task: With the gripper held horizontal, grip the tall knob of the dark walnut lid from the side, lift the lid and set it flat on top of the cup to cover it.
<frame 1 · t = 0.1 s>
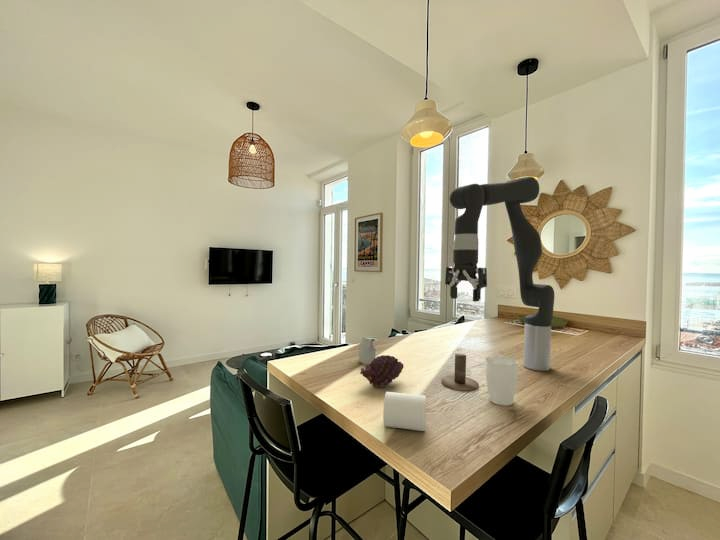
hand: (464, 299, 99), 29 cm above the breakfast bar, tool pointing down, fingers open, 8 cm apart
cup: (500, 401, 93), on the breakfast bar
white rounded block: (405, 423, 79), on the breakfast bar
lid: (459, 384, 106), on the breakfast bar
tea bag: (366, 363, 126), on the breakfast bar
pine cone: (384, 385, 103), on the breakfast bar
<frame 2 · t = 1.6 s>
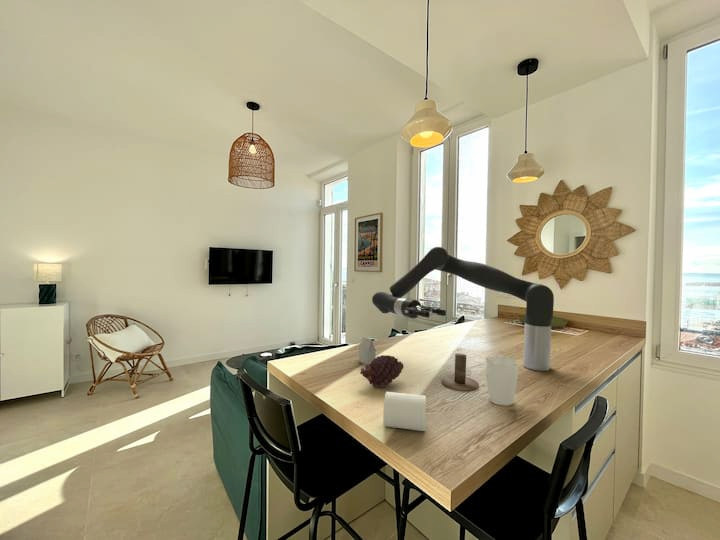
hand: (437, 313, 114), 22 cm above the breakfast bar, tool horizontal, fingers open, 8 cm apart
nothing on the breakfast bar moved.
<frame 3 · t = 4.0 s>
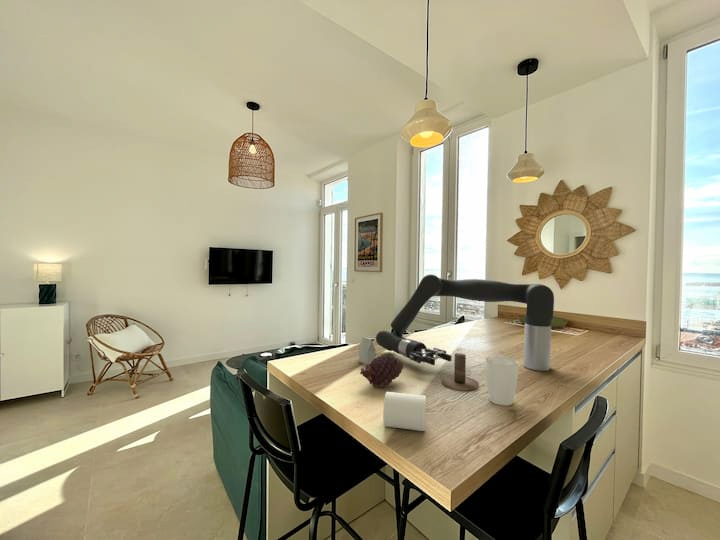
hand: (442, 360, 112), 6 cm above the breakfast bar, tool horizontal, fingers open, 8 cm apart
nothing on the breakfast bar moved.
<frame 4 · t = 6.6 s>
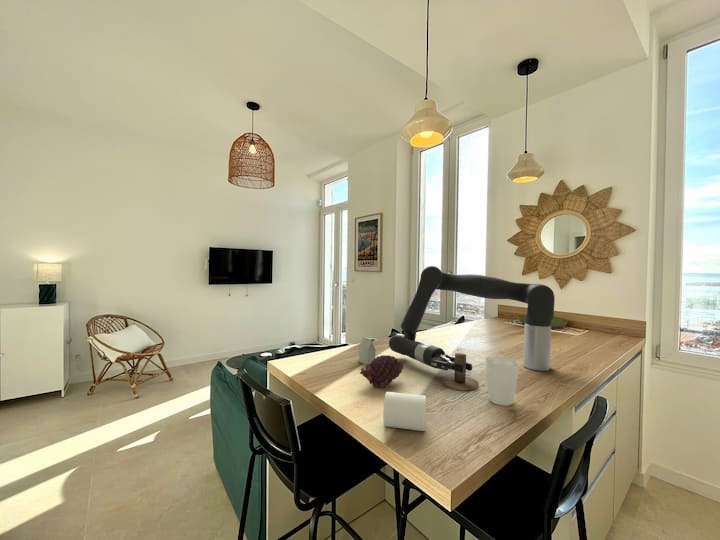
hand: (467, 368, 103), 6 cm above the breakfast bar, tool horizontal, fingers closed on lid, 3 cm apart
lid: (459, 383, 106), on the breakfast bar, touching gripper
everything else where it was.
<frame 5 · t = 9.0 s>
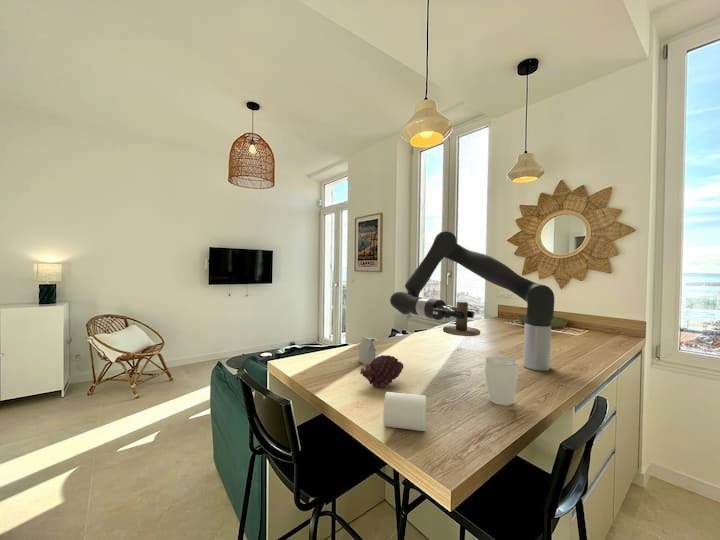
hand: (468, 315, 103), 24 cm above the breakfast bar, tool horizontal, fingers closed on lid, 3 cm apart
lid: (461, 331, 105), point 18 cm above the breakfast bar, touching gripper
everything else where it was.
when the fingers open (19 cm above the breakfast bar, at t = 11.6 s): lid drops 1 cm, resting on cup.
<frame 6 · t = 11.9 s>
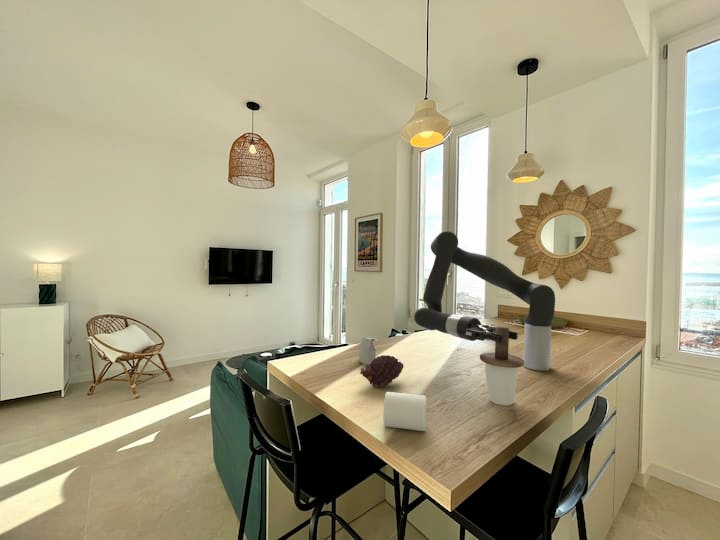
hand: (509, 337, 91), 20 cm above the breakfast bar, tool horizontal, fingers open, 6 cm apart
cup: (500, 401, 93), on the breakfast bar, touching lid
lid: (501, 360, 93), point 12 cm above the breakfast bar, touching cup
everything else where it was.
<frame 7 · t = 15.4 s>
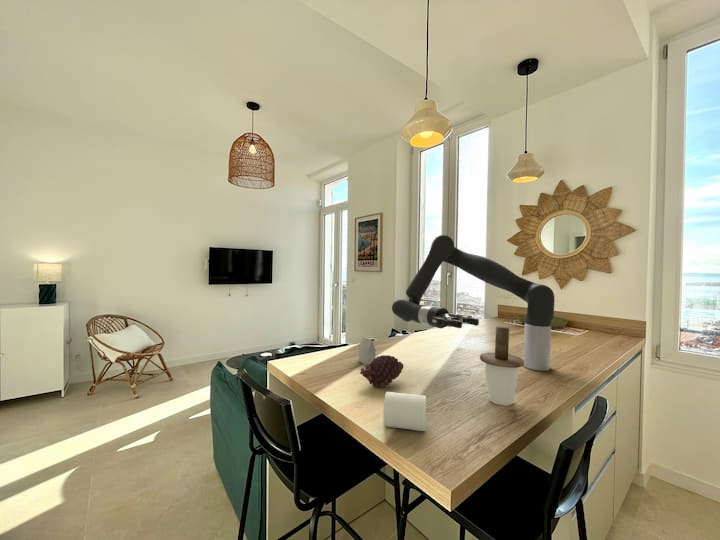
hand: (469, 323, 102), 21 cm above the breakfast bar, tool horizontal, fingers open, 8 cm apart
nothing on the breakfast bar moved.
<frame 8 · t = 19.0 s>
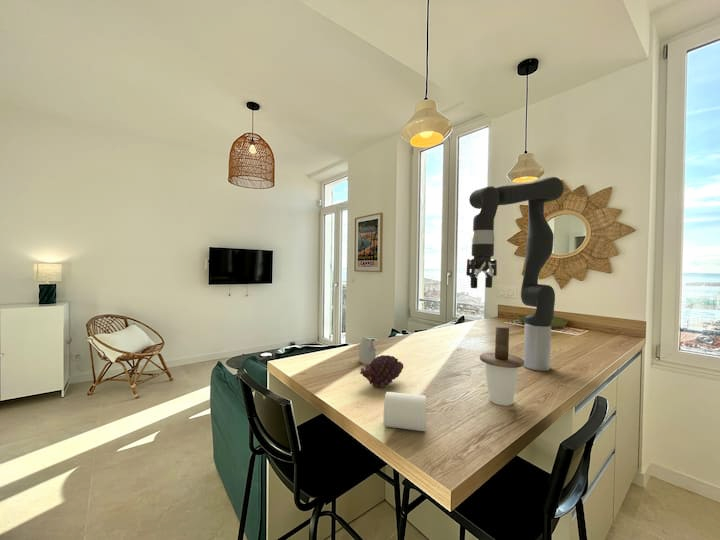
hand: (481, 287, 114), 32 cm above the breakfast bar, tool pointing down, fingers open, 8 cm apart
nothing on the breakfast bar moved.
at the end: lid 0.1 cm from the cup (horizontally); lid point 12.0 cm above the breakfast bar; lid tilted 0° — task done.
